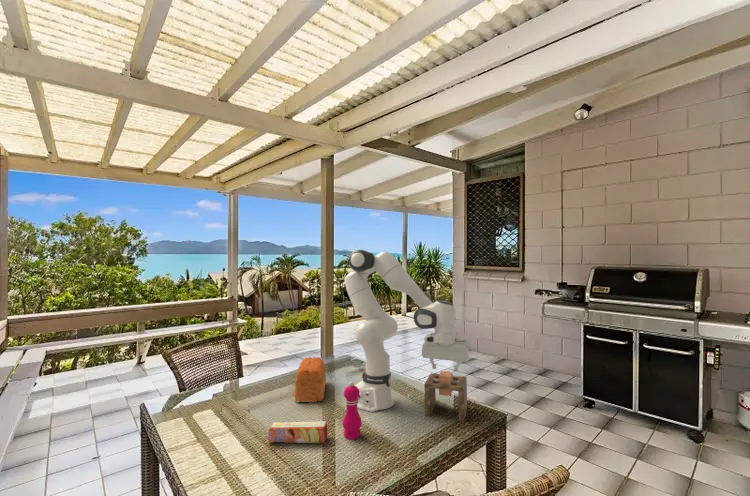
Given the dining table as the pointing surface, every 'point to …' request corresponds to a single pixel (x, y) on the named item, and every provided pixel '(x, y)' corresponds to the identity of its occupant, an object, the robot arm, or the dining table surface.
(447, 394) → the tall peach block
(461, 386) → the stand
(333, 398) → the dining table surface
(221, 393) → the dining table surface
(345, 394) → the pepper mill
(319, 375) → the bread
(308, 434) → the snack package
